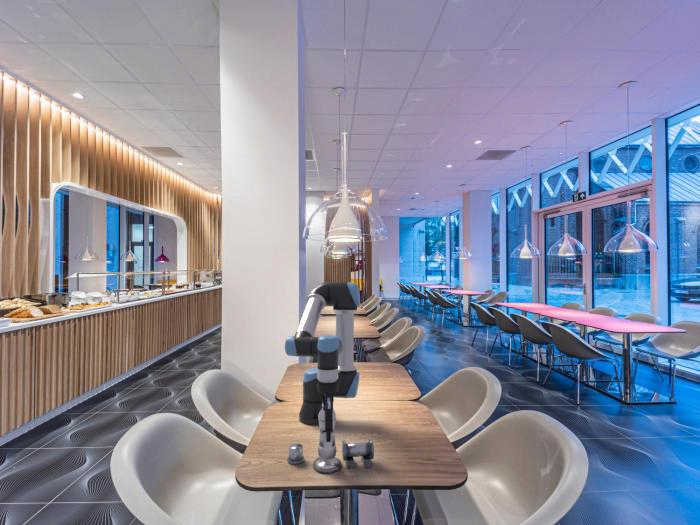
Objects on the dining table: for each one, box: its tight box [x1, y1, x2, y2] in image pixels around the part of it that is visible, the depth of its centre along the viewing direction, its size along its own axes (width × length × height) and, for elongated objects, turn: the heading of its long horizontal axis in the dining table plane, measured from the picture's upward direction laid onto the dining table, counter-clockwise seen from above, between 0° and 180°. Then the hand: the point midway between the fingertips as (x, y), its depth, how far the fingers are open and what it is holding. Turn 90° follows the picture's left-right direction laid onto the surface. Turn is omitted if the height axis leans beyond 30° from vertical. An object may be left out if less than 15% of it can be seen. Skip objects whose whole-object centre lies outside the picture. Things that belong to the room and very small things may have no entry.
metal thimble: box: [286, 443, 305, 466], centre depth 132 cm, size 6×6×5 cm
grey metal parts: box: [312, 438, 375, 475], centre depth 129 cm, size 21×10×8 cm, turn 98°
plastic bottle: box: [317, 402, 338, 460], centre depth 129 cm, size 6×7×20 cm
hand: (327, 445), depth 128 cm, fingers closed on plastic bottle, 6 cm apart
